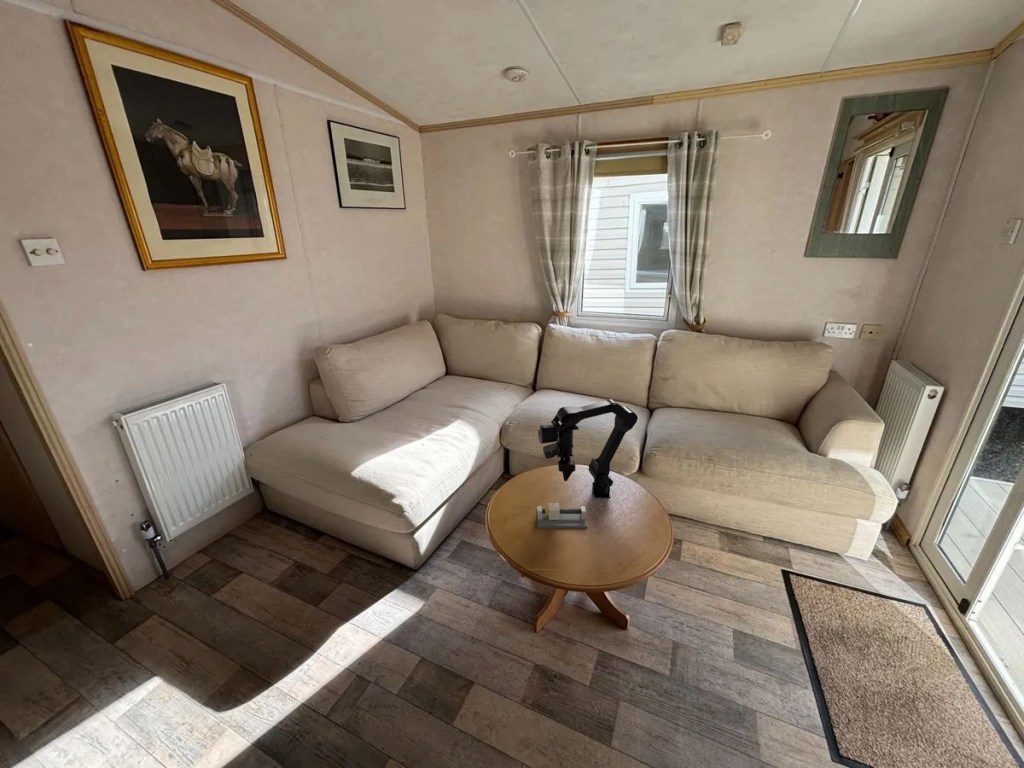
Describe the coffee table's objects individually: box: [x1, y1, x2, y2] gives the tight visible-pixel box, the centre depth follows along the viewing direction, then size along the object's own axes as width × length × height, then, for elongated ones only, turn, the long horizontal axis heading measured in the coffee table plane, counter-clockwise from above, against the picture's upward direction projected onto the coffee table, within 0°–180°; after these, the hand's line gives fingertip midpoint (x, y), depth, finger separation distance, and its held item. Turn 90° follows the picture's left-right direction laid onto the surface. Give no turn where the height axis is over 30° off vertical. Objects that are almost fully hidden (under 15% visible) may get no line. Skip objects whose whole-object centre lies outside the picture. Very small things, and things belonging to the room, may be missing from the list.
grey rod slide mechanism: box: [536, 505, 588, 529], centre depth 150 cm, size 18×10×5 cm, turn 88°
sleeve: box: [547, 502, 560, 520], centre depth 150 cm, size 4×4×4 cm
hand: (564, 474), depth 158 cm, fingers open, 9 cm apart
